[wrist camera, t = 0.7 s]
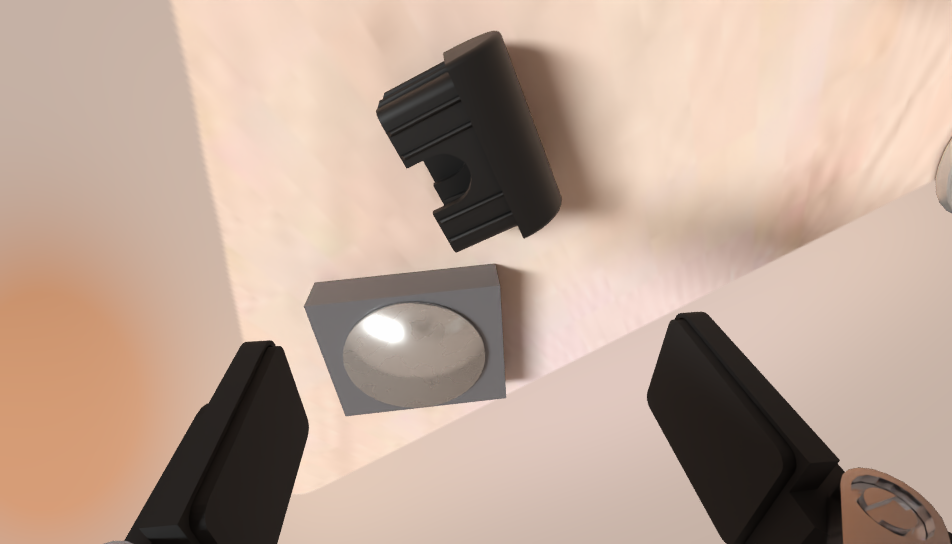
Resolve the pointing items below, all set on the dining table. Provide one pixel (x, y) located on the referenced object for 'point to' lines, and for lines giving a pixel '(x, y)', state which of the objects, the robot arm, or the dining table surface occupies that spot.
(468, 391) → the grey domed push button
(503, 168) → the end cap
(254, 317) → the dining table surface
